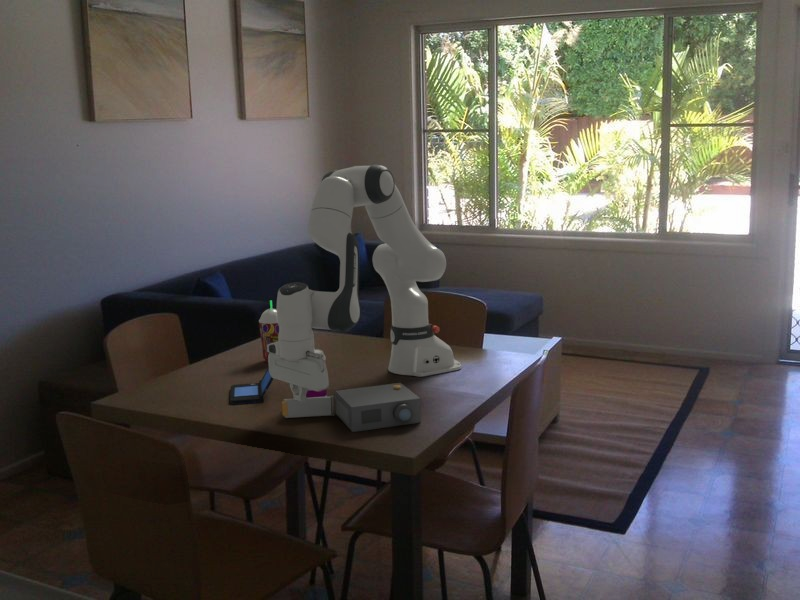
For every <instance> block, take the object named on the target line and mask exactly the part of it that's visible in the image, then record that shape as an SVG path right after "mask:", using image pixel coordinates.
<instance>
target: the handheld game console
mask: <svg viewBox="0 0 800 600" xmlns="http://www.w3.org/2000/svg"><path fill="white" fill-rule="evenodd" d="M274 380H275V379H274V378H272V377H271V375H270V373H269V366H268V367H267V369H266V371H265V373H264V375H263V377H262V378H261V379H260V380H259V381H258V382H255V383H253V382H252V383H251V382H250V383H241V384H239V383H238V384H232V385H231V386H230V395H229V396H230V397H229V403H230V404H232V405H240V404H256V402H257V403H264V402H265V398H264V396H265V395H266V393H267V392H268V391H269V388H270V386H271V384H272V382H273V381H274Z"/></svg>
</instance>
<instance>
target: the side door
mask: <svg viewBox="0 0 800 600" xmlns="http://www.w3.org/2000/svg"><path fill="white" fill-rule="evenodd" d="M281 405H282V406H281V407H282V416H283V417H284V418H285V419H288V418H304V417H305V418H309V417H321V416H333V417H334V416H335V415H336V414H335V413H336V404H335V395H330V396H329V395H327V397H309V398H306V401H305V402H299V401H295V400H294V397H293V398H284V399H283V400H282V401H281Z"/></svg>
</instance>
